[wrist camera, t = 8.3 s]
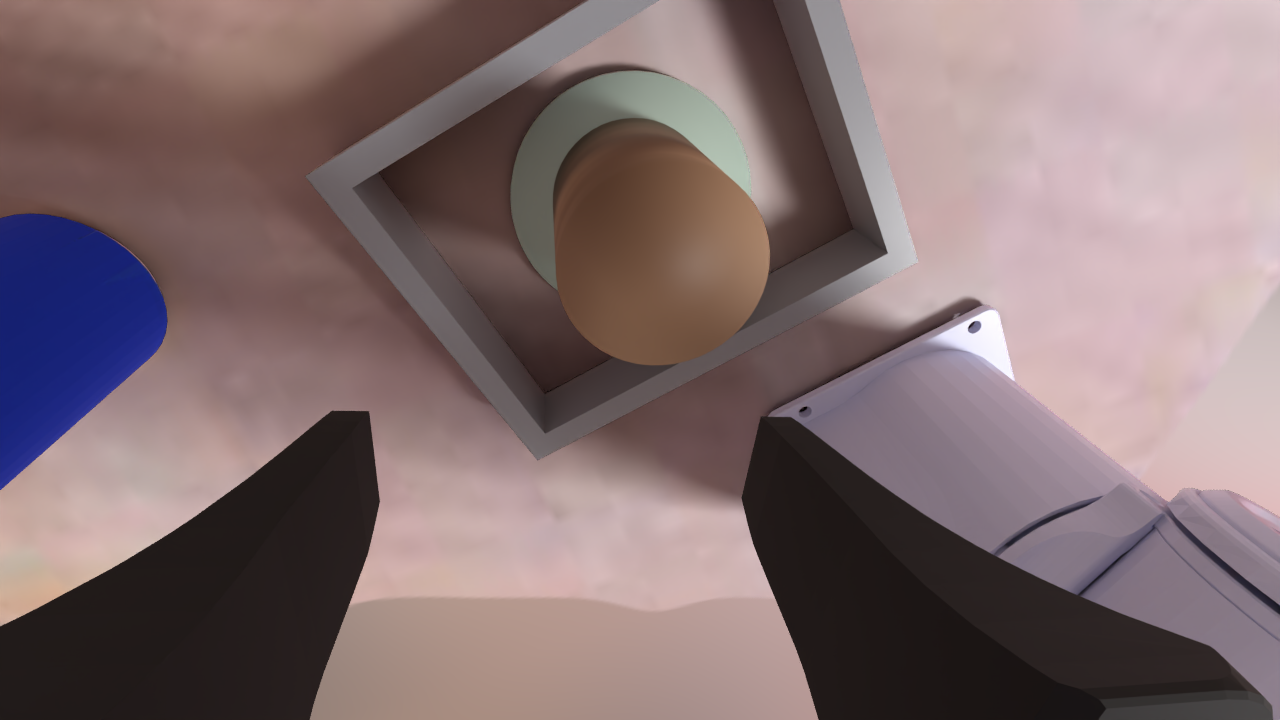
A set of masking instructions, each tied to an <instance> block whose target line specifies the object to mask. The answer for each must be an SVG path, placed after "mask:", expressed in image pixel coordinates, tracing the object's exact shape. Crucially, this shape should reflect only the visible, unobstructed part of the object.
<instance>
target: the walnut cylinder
mask: <svg viewBox="0 0 1280 720" xmlns="http://www.w3.org/2000/svg"><path fill="white" fill-rule="evenodd" d="M553 220H554V243H555V265H556V280H557V288H558V292H559V295H560V299H561V302H562V305H563V307H564V309H565V312H566V314H567V315H568V317H569V319H570V320H571V322H572V324H573V325H574V326H575V327H576V329H577V330H578V331H579V332H580V334H581V335H582V336H583V337H584V338H586V339H587V340H588V341H589V342H590V343H591V344H593V345H594V346H595V347H597V348H598V349H600V350H601V351H603V352H605V353H607V354H609V355H610V356H613V357H615V358H618V359H620V360H623V361H627V362H631V363H635V364H642V365H669V364H676V363H681V362H685V361H689V360H691V359H694V358H697V357H700V356H702V355H704V354H706V353H708V352H710V351H712V350H714V349H715V348H717V347H718V346H720V345H722V344H723V343H724V342H726V341H727V340H728V339H729V338H731V337H732V336H733V335H734V334H735V333H736V332H737V331H738V330H739V329H740V328H741V327H742V326H743V325H744V324H745V322H746V321H747V320H748V318H749V317H750V316H751V314H752V313H753V311H754V309H755V308H756V306H757V305H758V302H759V300H760V298H761V296H762V294H763V291H764V288H765V285H766V282H767V277H768V272H769V264H770V248H769V239H768V235H767V230H766V227H765V224H764V222H763V219H762V216H761V214H760V213H759V211H758V209H757V207H756V205H755V204H754V202H753V201H752V200H751V198H750V197H749V196H748V194H747V193H746V192H745V191H744V190H743V189H742V188H741V187H740V186H739V185H738V184H737V183H735V182H734V181H733V180H732V179H731V178H730V177H729V176H728V175H727V174H725V173H724V172H723V171H722V170H721V169H720V168H719V167H718V166H717V165H715V164H714V163H713V162H712V161H711V160H710V159H709V158H708V157H707V156H705V155H704V154H703V153H702V152H701V151H700V150H699V149H698V148H697V147H695V146H694V145H693V144H692V143H691V142H690V141H689V140H688V139H687V138H685V137H684V136H683V135H682V134H680V133H679V132H678V131H676V130H675V129H673V128H671V127H669V126H667V125H665V124H663V123H660V122H657V121H654V120H649V119H643V118H626V119H619V120H615V121H611V122H608V123H605V124H603V125H600V126H598V127H597V128H595V129H593V130H591V131H590V132H588V133H587V134H586V135H584V136H583V137H582V138H581V139H580V140H579V141H578V142H576V143H575V144H574V146H573V147H572V148H571V149H570V151H569V152H568V153H567V155H566V156H565V158H564V160H563V161H562V163H561V165H560V168H559V170H558V172H557V176H556V179H555V183H554V190H553Z"/></svg>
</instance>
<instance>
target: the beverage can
mask: <svg viewBox="0 0 1280 720" xmlns="http://www.w3.org/2000/svg"><path fill="white" fill-rule="evenodd" d="M166 328H167V310H166V306H165V302H164V299H163V296H162V293H161V291H160V289H159V287H158V285H157V282H156V280H155V279H154V277H153V276H152V274H151V273H150V271H149V270H148V268H147V267H146V266H145V265H144V264H143V263H142V261H141V260H140V259H139V258H138V257H137V256H136V255H134V254H133V253H132V252H131V251H130V250H129V249H127V248H126V247H125V246H123V245H122V244H121V243H119V242H118V241H116V240H114V239H113V238H111V237H109V236H107V235H106V234H104V233H102V232H100V231H98V230H95V229H93V228H91V227H89V226H86V225H84V224H82V223H79V222H76V221H72V220H69V219H66V218H62V217H57V216H51V215H44V214H18V215H11V216H7V217H3V218H0V490H1V489H2V488H3V487H5V486H6V485H7V484H8V483H9V482H10V481H11V480H12V479H14V478H15V477H16V476H17V475H18V474H19V473H20V472H21V471H23V470H24V469H25V468H26V467H27V466H28V465H29V464H31V463H32V462H33V461H34V460H35V459H36V458H37V457H38V456H40V455H41V454H42V453H43V452H44V451H45V450H46V449H48V448H49V447H50V446H51V445H52V444H53V443H54V442H55V441H57V440H58V439H59V438H60V437H61V436H62V435H63V434H64V433H66V432H67V431H68V430H69V429H70V428H71V427H72V426H74V425H75V424H76V423H77V422H78V421H79V420H80V419H81V418H83V417H84V416H85V415H86V414H87V413H88V412H89V411H90V410H92V409H93V408H94V407H95V406H96V405H97V404H98V403H100V402H101V401H102V400H103V399H104V398H105V397H106V396H107V395H109V394H110V393H111V392H112V391H113V390H114V389H115V388H116V387H118V386H119V385H120V384H121V383H122V382H123V381H124V380H126V379H127V378H128V377H129V376H130V375H131V374H132V373H133V372H135V371H136V370H137V369H138V368H139V367H140V366H141V365H142V364H144V363H145V362H146V361H147V360H148V359H149V358H150V357H151V356H152V355H153V354H154V353H155V352H156V351H157V350H158V348H159V347H160V345H161V344H162V342H163V339H164V336H165V334H166Z"/></svg>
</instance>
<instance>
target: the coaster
mask: <svg viewBox="0 0 1280 720" xmlns="http://www.w3.org/2000/svg"><path fill="white" fill-rule="evenodd" d="M626 118H643V119H649V120H654V121H657V122H660V123H663V124H665V125H667V126H669V127H671V128H673V129H675V130H676V131H678V132H679V133H680V134H682V135H683V136H684V137H685V138H687V139H688V140H689V141H690V142H691V143H692V144H693V145H694V146H695V147H697V148H698V149H699V150H700V151H701V152H702V153H703V154H704V155H705V156H707V157H708V158H709V159H710V160H711V161H712V162H713V163H714V164H715V165H717V166H718V167H719V168H720V169H721V170H722V171H723V172H724V173H725V174H727V175H728V176H729V177H730V178H731V179H732V180H733V181H734V182H735V183H737V184H738V185H739V186H740V187H741V188H742V189H743V190H744V191H745V192H746V193H747V194H748V196H749V197H750V198H751V180H750V170H749V165H748V160H747V156H746V153H745V150H744V147H743V145H742V142H741V140H740V138H739V136H738V134H737V132H736V130H735V128H734V127H733V125H732V124H731V122H730V121H729V119H728V118H727V116H726V115H725V114H724V113H723V112H722V111H721V110H720V108H719V107H718V106H717V105H716V104H715V103H714V102H713V101H711V100H710V99H709V98H708V97H707V96H705V95H704V94H703V93H702V92H700V91H698V90H697V89H695V88H693V87H692V86H690V85H688V84H687V83H685V82H682V81H680V80H678V79H675V78H673V77H670V76H667V75H663V74H659V73H655V72H650V71H640V70H626V71H615V72H610V73H605V74H601V75H598V76H595V77H592V78H589V79H586V80H584V81H582V82H580V83H578V84H576V85H574V86H572V87H570V88H569V89H568V90H566V91H565V92H563V93H562V94H560V95H559V96H558V97H556V98H555V99H554V100H553V101H552V102H551V103H550V104H549V105H548V106H547V107H546V108H544V110H543V111H542V112H541V113H540V114H539V116H538V117H537V118H536V119H535V121H534V122H533V123H532V125H531V127H530V128H529V130H528V132H527V133H526V135H525V137H524V139H523V141H522V144H521V146H520V148H519V151H518V153H517V157H516V161H515V164H514V168H513V173H512V181H511V211H512V219H513V223H514V227H515V230H516V234H517V237H518V239H519V242H520V244H521V246H522V249H523V251H524V252H525V254H526V256H527V258H528V259H529V261H530V263H531V264H532V265H533V267H534V268H535V269H536V270H537V272H538V273H539V274H540V275H541V276H542V277H543V278H544V279H545V280H546V281H547V282H548V283H549V284H550V285H551V286H552V287H553V288H555V289H556V290H557V291H558V288H557V280H556V265H555V243H554V220H553V190H554V183H555V179H556V176H557V172H558V170H559V168H560V165H561V163H562V161H563V160H564V158H565V156H566V155H567V153H568V152H569V151H570V149H571V148H572V147H573V146H574V144H575V143H576V142H578V141H579V140H580V139H581V138H582V137H583V136H584V135H586V134H587V133H588V132H590V131H591V130H593V129H595V128H597V127H598V126H600V125H603V124H605V123H608V122H611V121H615V120H619V119H626Z"/></svg>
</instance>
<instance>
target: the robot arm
mask: <svg viewBox="0 0 1280 720" xmlns="http://www.w3.org/2000/svg"><path fill="white" fill-rule="evenodd" d="M974 321H975V323H974V325H973V326H972V327H971V328H968V327H969V325H970V324H971V323H972V322H974ZM806 406H807V409H806V410H805V411H803V412H799V411H800V409H801V408H803V407H806ZM742 502H743V506H744V510H745V514H746V518H747V522H748V526H749V530H750V534H751V537H752V541H753V544H754V547H755V550H756V552H757V555H758V557H759V560H760V562H761V565H762V567H763V570H764V572H765V575H766V577H767V580H768V582H769V584H770V587H771V589H772V592H773V594H774V597H775V599H776V601H777V604H778V606H779V609H780V611H781V613H782V616H783V618H784V620H785V623H786V626H787V628H788V630H789V633H790V635H791V638H792V640H793V642H794V645H795V647H796V650H797V653H798V655H799V658H800V661H801V664H802V666H803V669H804V672H805V675H806V679H807V682H808V685H809V688H810V692H811V696H812V699H813V702H814V706H815V709H816V712H817V715H818V719H819V720H1280V517H1279V516H1277V515H1275V514H1274V513H1272V512H1270V511H1269V510H1267V509H1265V508H1263V507H1262V506H1260V505H1258V504H1256V503H1254V502H1252V501H1251V500H1249V499H1247V498H1245V497H1243V496H1241V495H1239V494H1236V493H1234V492H1232V491H1229V490H1203V491H1201V490H1198V489H1195V488H1184V489H1182V490H1180V491H1179V493H1178V494H1177V496H1175V497H1174V498H1173V499H1172V500H1171V501H1170V502H1168V501H1166V500H1164V499H1163V498H1162V497H1161V496H1159V495H1158V494H1157V493H1156V492H1154V491H1153V490H1152V489H1150V488H1149V487H1148V486H1147V485H1145V484H1144V483H1143V482H1141V481H1140V480H1139V479H1138V478H1136V477H1135V476H1134V475H1133V474H1131V473H1130V472H1129V471H1128V470H1126V469H1125V468H1124V467H1122V466H1121V465H1120V464H1119V463H1117V462H1116V461H1115V460H1114V459H1112V458H1111V457H1110V456H1109V455H1107V454H1106V453H1105V452H1103V451H1102V450H1101V449H1100V448H1098V447H1097V446H1096V445H1095V444H1093V443H1092V442H1091V441H1089V440H1088V439H1087V438H1086V437H1084V436H1083V435H1082V434H1081V433H1079V432H1078V431H1077V430H1075V429H1074V428H1073V427H1072V426H1070V425H1069V424H1068V423H1067V422H1065V421H1064V420H1063V419H1062V418H1060V417H1059V416H1058V415H1056V414H1055V413H1054V412H1053V411H1051V410H1050V409H1049V408H1048V407H1046V406H1045V405H1044V404H1042V403H1041V402H1040V401H1039V400H1037V399H1036V398H1035V397H1034V396H1032V395H1031V394H1030V393H1028V392H1027V391H1026V390H1025V389H1023V388H1022V387H1021V386H1020V385H1018V384H1017V383H1016V382H1015V379H1014V375H1013V371H1012V367H1011V363H1010V358H1009V354H1008V350H1007V346H1006V341H1005V337H1004V333H1003V329H1002V325H1001V320H1000V316H999V313H998V311H997V310H995V309H994V308H992V307H991V306H989V305H983V306H980V307H977V308H975V309H973V310H971V311H969V312H967V313H965V314H963V315H961V316H959V317H958V318H956V319H954V320H952V321H950V322H948V323H946V324H944V325H942V326H940V327H938V328H936V329H934V330H932V331H930V332H928V333H926V334H924V335H922V336H920V337H918V338H916V339H914V340H912V341H910V342H908V343H906V344H904V345H902V346H900V347H898V348H896V349H894V350H892V351H890V352H888V353H886V354H884V355H882V356H880V357H878V358H876V359H874V360H872V361H870V362H868V363H866V364H864V365H862V366H860V367H858V368H856V369H855V370H853V371H851V372H849V373H847V374H845V375H843V376H841V377H839V378H837V379H835V380H833V381H831V382H829V383H827V384H825V385H823V386H821V387H819V388H817V389H815V390H813V391H811V392H809V393H807V394H805V395H803V396H801V397H799V398H797V399H795V400H793V401H791V402H789V403H787V404H785V405H783V406H781V407H779V408H777V409H775V410H774V411H772V412H771V413H770V414H769V416H768V417H761V419H760V423H759V427H758V431H757V435H756V440H755V444H754V448H753V452H752V457H751V461H750V465H749V469H748V473H747V478H746V482H745V486H744V490H743V494H742ZM379 503H380V500H379V491H378V483H377V474H376V466H375V458H374V449H373V441H372V432H371V424H370V416H369V411H331V412H330V413H329V414H327V415H326V416H325V417H323V418H322V419H321V420H320V421H318V422H317V423H316V424H315V425H314V426H312V427H311V428H310V429H309V430H307V431H306V432H305V433H304V434H303V435H301V436H300V437H299V438H298V439H297V440H295V441H294V442H293V443H292V444H291V445H289V446H288V447H287V448H286V449H284V450H283V451H282V452H281V453H279V454H278V455H277V456H276V457H274V458H273V459H272V460H271V461H269V462H268V463H267V464H266V465H264V466H263V467H262V468H261V469H259V470H258V471H257V472H255V473H254V474H253V475H252V476H250V477H249V478H248V479H247V480H245V481H244V482H242V483H241V484H240V485H238V486H237V487H235V488H234V489H233V490H231V491H230V492H229V493H227V494H226V495H224V496H223V497H222V498H220V499H219V500H217V501H216V502H215V503H213V504H212V505H210V506H209V507H208V508H206V509H205V510H204V511H202V512H201V513H199V514H198V515H197V516H195V517H194V518H192V519H191V520H189V521H188V522H186V523H185V524H183V525H182V526H180V527H179V528H177V529H176V530H174V531H173V532H171V533H170V534H168V535H166V536H165V537H163V538H162V539H160V540H159V541H157V542H155V543H154V544H152V545H150V546H149V547H147V548H145V549H144V550H142V551H140V552H139V553H137V554H135V555H134V556H132V557H131V558H129V559H127V560H126V561H124V562H122V563H120V564H119V565H117V566H115V567H113V568H112V569H110V570H108V571H106V572H104V573H103V574H101V575H99V576H97V577H95V578H93V579H91V580H89V581H88V582H86V583H84V584H82V585H80V586H78V587H76V588H74V589H73V590H71V591H69V592H67V593H65V594H63V595H61V596H60V597H58V598H56V599H54V600H52V601H50V602H48V603H46V604H45V605H43V606H41V607H39V608H37V609H35V610H33V611H31V612H29V613H27V614H25V615H23V616H21V617H19V618H17V619H15V620H13V621H11V622H9V623H7V624H4V625H2V626H0V720H310V716H311V712H312V708H313V704H314V701H315V698H316V694H317V691H318V688H319V685H320V682H321V679H322V676H323V673H324V670H325V668H326V665H327V662H328V660H329V657H330V654H331V652H332V649H333V646H334V644H335V641H336V638H337V635H338V633H339V630H340V627H341V625H342V622H343V619H344V617H345V614H346V612H347V609H348V606H349V604H350V601H351V598H352V596H353V593H354V590H355V588H356V585H357V582H358V579H359V577H360V574H361V571H362V569H363V566H364V563H365V560H366V557H367V555H368V551H369V547H370V543H371V539H372V534H373V530H374V526H375V521H376V517H377V512H378V507H379Z"/></svg>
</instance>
